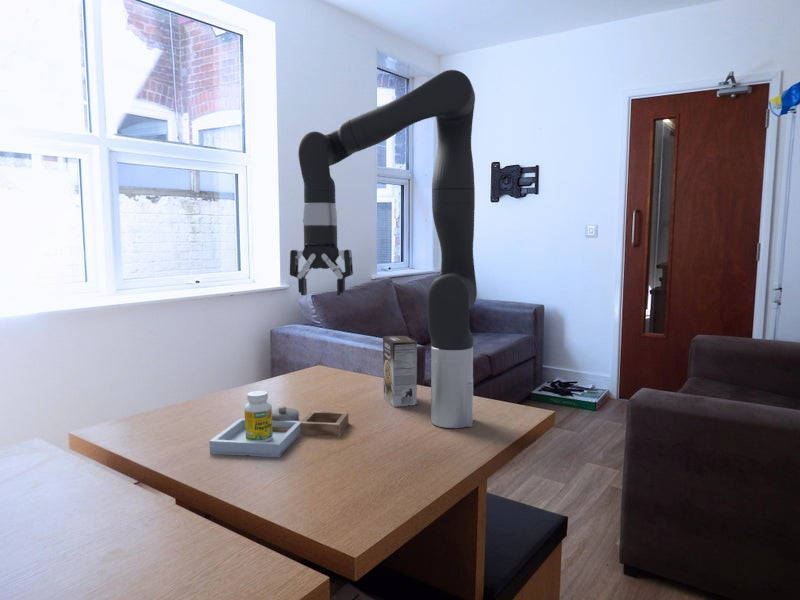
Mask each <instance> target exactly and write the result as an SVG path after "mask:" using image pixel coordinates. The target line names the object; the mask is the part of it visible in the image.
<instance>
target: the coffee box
mask: <svg viewBox="0 0 800 600" xmlns="http://www.w3.org/2000/svg"><path fill="white" fill-rule="evenodd" d="M382 357H383V358H382V359H383V360H382V361H383V362H382V363H383V398H384V399H385V400H386V401H387V402H388V403H389V404H390V406H392V407H394V408H397V407H398V406H399V407H407V406H408V405H410V406H416V405H415V404H417V402H418V401H417V400H418V399H417V397H418V395H417V392H418V391H417V389H418V388H417V387H418V386H417V385H418V384H417V382H418V381H417V380H418V378H417V377H418V373H417V372H418V364H417V363H418V341H417V340H414V339H412V338H410V337H409V336H407V335H388V336H387V335H386V336H382ZM399 407H398V408H399ZM408 407H409V406H408Z"/></svg>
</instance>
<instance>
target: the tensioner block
mask: <svg viewBox="0 0 800 600" xmlns="http://www.w3.org/2000/svg"><path fill="white" fill-rule="evenodd" d="M299 412H300V411H299V410H298V409H296V408H291V407H287V406H285V405H283V406H282V405H281V406H279V407H278V408H274V409H272V420H273V421H285V420H287V421H301V422H300V423H301V435H302V436H305V435H306V436H322V437H323V436H325V437H326V436H327V437H340V436H341V434H342V433H343V432H344V430H345V429H346V428H347V426H348V425H349V423H350V422H349V421H350V420H349V412H348V411H347V412H345V411H325V410H323V411H321V410H311V411H310V412H309V413H308V414H300V413H299ZM289 429H290V428H276V427H272V430H273V432H287V431H288V430H289ZM301 435H300V436H301Z"/></svg>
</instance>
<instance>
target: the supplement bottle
mask: <svg viewBox="0 0 800 600" xmlns="http://www.w3.org/2000/svg"><path fill="white" fill-rule="evenodd" d="M268 394H269V392H267V391H265V390H255V391H250V392H248V393H247V395H246V400H247V403H246V404H245V406H244V410H243V411H244V419H245V432H246V441H257V442H268V441H270V440H271V439H272V437H273V430H272V410H273V409H272V404H271V402H269V401H268V398H269V395H268Z"/></svg>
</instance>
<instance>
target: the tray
mask: <svg viewBox="0 0 800 600" xmlns="http://www.w3.org/2000/svg"><path fill="white" fill-rule="evenodd" d="M300 422H301V421H287V420H285V421H273V420H272V427H276V428H290V429H289V430H288V431H287V432H273V437H272V439H271V440H270V441H268V442H257V441H246V432H245V418H239V419H237V420H236V421H234V422H233V423H232V424H230V425H229V426H227V427H226V428H225V429H224V430H223V431H221V432H220V433H219V434H217V435H216V436H215V437H213V438H211V439H210V440H209V454H210V455H211V454H212V455H226V456H229V455H231V456H245V455H250V456H249V457H267V458H270V457H271V458H281V456H282V455H284V453H286V451H287V450H288V449H289V448H290V447H291V446H292V444H294V443H295V441H297V439H298V438H299V437H301V423H300Z"/></svg>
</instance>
